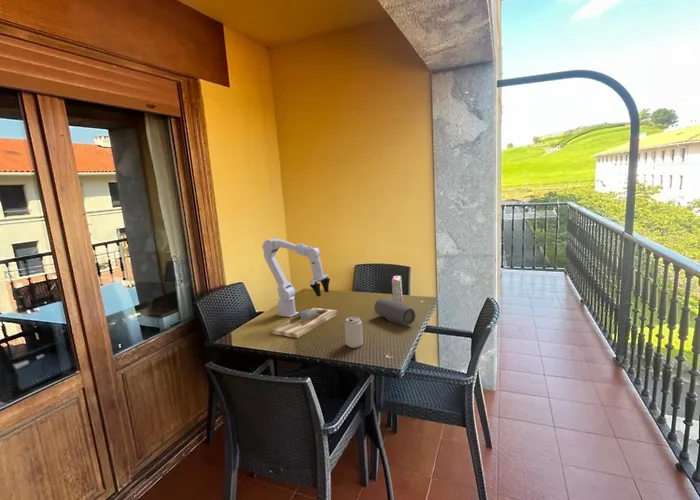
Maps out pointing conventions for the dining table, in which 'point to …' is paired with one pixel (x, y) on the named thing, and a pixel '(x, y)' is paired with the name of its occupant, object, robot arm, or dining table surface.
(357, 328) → the can
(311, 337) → the dining table surface
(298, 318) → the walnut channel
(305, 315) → the slate block
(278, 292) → the robot arm
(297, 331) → the birch deck
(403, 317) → the bluetooth speaker
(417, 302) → the dining table surface
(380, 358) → the dining table surface
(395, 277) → the candy bar box
